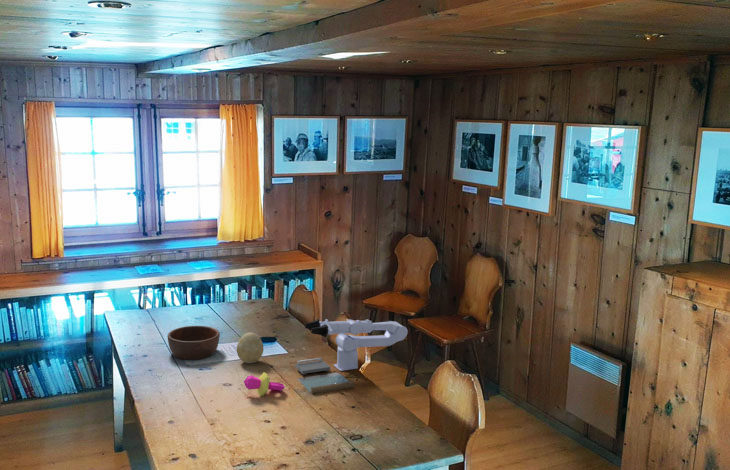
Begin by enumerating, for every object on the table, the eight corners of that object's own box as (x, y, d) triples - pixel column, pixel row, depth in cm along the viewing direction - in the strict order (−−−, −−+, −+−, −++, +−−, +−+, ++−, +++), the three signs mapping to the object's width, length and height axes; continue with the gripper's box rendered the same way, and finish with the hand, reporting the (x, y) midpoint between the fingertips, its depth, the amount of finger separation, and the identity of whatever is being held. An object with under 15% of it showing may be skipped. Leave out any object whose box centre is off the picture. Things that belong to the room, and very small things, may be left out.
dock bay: (336, 373, 319) (336, 367, 318) (353, 388, 302) (353, 382, 302) (296, 379, 310) (296, 373, 309) (311, 395, 294) (311, 388, 293)
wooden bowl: (157, 357, 330) (156, 336, 328) (188, 341, 353) (188, 322, 351) (200, 365, 321) (199, 345, 319) (229, 349, 344) (229, 330, 342)
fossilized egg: (234, 359, 330) (234, 329, 327) (259, 356, 335) (259, 327, 332) (239, 368, 319) (240, 338, 316) (266, 365, 324) (266, 335, 321)
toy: (285, 399, 290) (289, 375, 293) (245, 393, 282) (249, 368, 285) (276, 399, 298) (280, 376, 301) (237, 394, 290) (241, 369, 293)
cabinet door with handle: (322, 365, 326) (322, 357, 325) (330, 372, 318) (330, 363, 317) (295, 369, 320) (295, 360, 319) (302, 376, 312) (302, 367, 311)
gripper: (329, 314, 325) (303, 315, 319) (342, 324, 312) (315, 324, 306) (328, 329, 326) (302, 329, 320) (340, 338, 313) (313, 339, 307)
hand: (308, 328), depth 313 cm, fingers open, 7 cm apart
